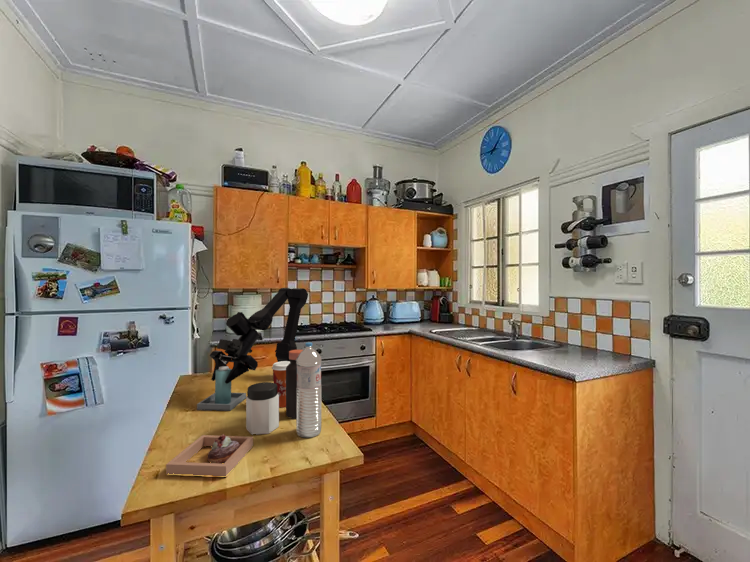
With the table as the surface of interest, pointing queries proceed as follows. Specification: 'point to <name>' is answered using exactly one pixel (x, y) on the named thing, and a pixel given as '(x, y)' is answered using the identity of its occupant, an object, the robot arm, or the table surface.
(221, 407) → the tray
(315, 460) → the table surface
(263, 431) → the jar
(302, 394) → the water bottle
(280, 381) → the paper cup
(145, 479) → the table surface
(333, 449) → the table surface
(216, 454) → the pastry
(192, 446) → the pastry plate
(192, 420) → the table surface
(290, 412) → the vinegar
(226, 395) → the pepper mill
